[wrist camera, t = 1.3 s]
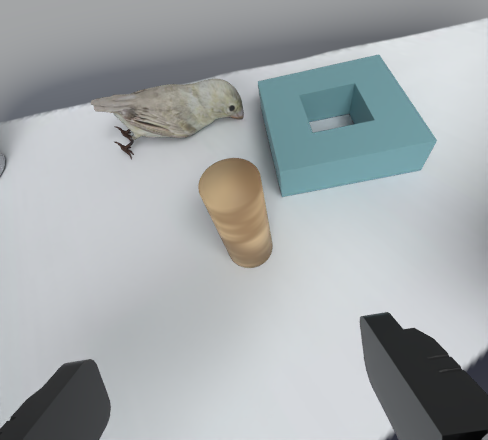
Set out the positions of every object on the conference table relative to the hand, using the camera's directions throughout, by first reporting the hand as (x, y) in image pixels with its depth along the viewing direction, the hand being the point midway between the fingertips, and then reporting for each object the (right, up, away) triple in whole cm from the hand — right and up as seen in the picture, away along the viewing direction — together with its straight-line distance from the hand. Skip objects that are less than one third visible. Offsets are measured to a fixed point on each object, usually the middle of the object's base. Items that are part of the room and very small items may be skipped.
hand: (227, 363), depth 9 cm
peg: (+1, +2, +19) cm, 19 cm away
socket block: (+10, +14, +25) cm, 30 cm away
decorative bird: (-7, +15, +29) cm, 34 cm away
